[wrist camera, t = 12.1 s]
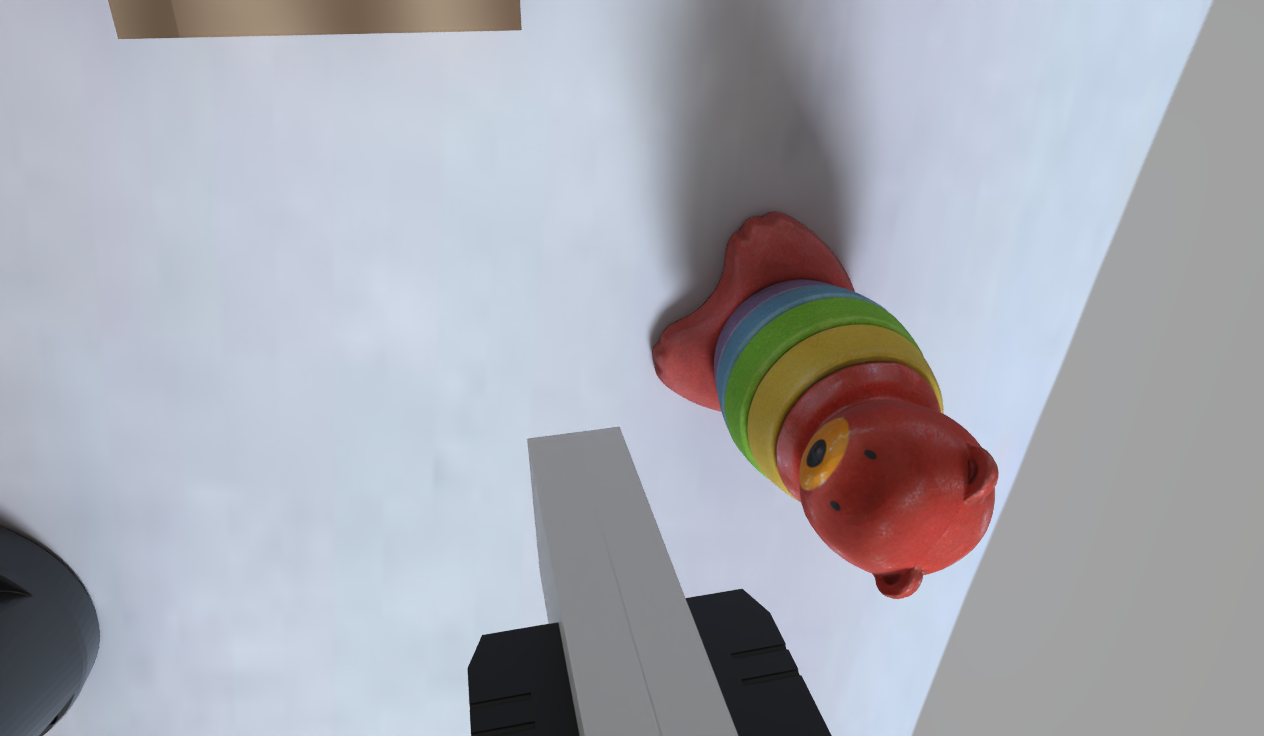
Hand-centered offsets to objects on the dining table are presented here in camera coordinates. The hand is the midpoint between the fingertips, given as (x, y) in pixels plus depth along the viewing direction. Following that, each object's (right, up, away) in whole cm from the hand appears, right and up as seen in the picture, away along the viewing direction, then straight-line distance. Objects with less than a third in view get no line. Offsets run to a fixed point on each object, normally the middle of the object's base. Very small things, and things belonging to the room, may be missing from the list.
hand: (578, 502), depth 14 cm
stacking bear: (+8, +4, +31) cm, 33 cm away
